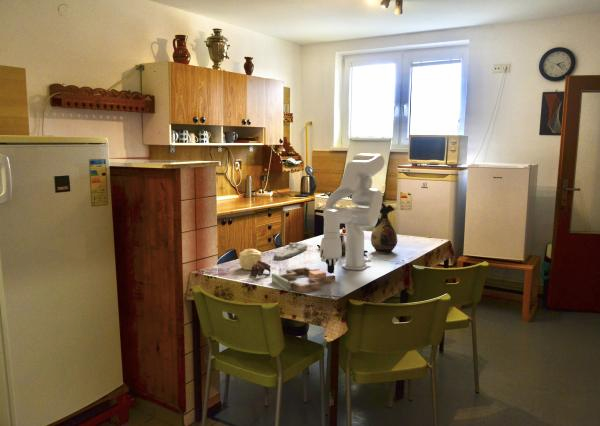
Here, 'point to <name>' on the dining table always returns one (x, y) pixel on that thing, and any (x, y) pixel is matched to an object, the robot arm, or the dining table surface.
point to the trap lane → (298, 273)
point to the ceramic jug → (384, 233)
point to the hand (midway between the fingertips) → (330, 272)
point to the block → (316, 274)
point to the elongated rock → (290, 251)
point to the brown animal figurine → (259, 268)
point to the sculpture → (249, 258)
